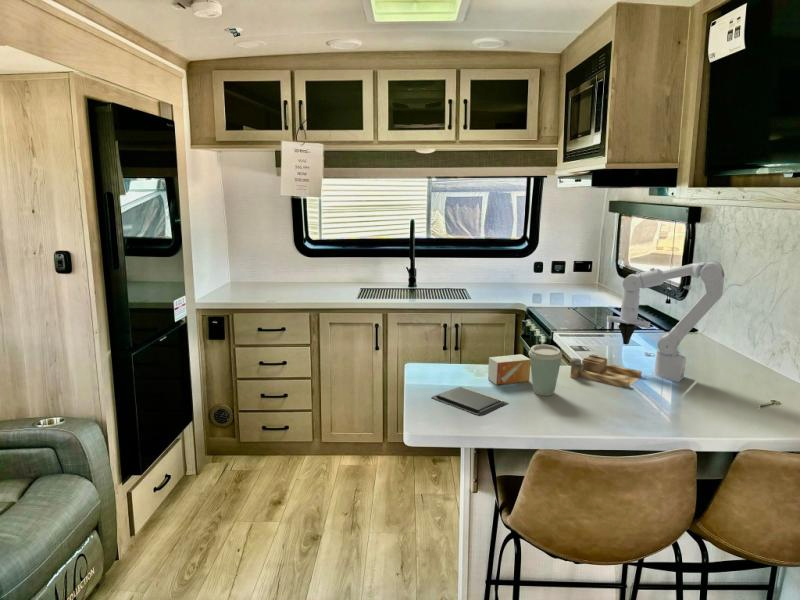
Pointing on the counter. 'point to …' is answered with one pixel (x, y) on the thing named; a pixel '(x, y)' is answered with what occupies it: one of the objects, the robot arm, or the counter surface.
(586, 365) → the crate
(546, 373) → the disposable coffee cup
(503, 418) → the counter surface
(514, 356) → the small box
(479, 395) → the dark grey rectangular slab
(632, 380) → the wooden base
